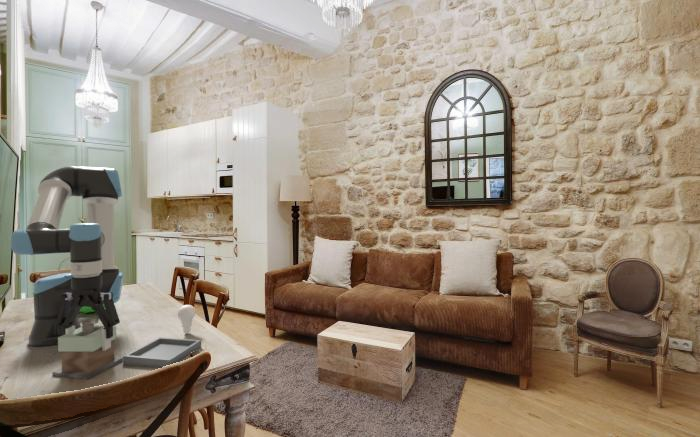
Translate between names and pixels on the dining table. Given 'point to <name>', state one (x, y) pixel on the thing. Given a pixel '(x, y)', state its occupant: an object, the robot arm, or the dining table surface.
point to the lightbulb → (186, 317)
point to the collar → (83, 340)
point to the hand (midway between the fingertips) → (88, 348)
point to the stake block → (87, 357)
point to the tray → (162, 352)
